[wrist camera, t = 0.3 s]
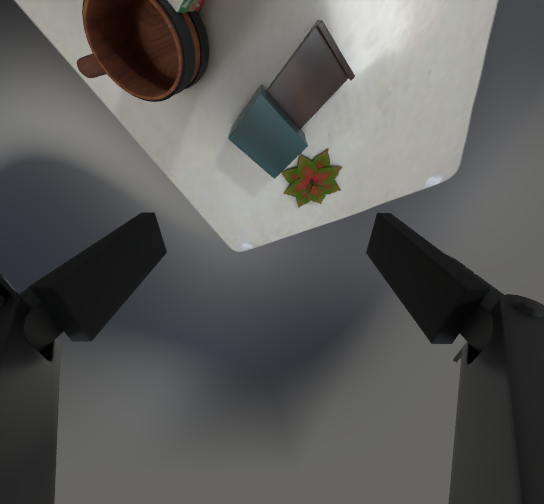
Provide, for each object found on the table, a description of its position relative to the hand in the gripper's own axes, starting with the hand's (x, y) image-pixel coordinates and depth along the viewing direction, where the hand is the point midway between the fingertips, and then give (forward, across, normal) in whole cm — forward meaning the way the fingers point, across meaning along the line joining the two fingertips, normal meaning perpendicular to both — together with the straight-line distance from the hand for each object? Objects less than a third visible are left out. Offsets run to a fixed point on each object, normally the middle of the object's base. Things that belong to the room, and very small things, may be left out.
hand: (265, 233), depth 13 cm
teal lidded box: (+26, +2, +8) cm, 28 cm away
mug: (+24, -14, +14) cm, 31 cm away
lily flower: (+30, +8, -3) cm, 31 cm away
